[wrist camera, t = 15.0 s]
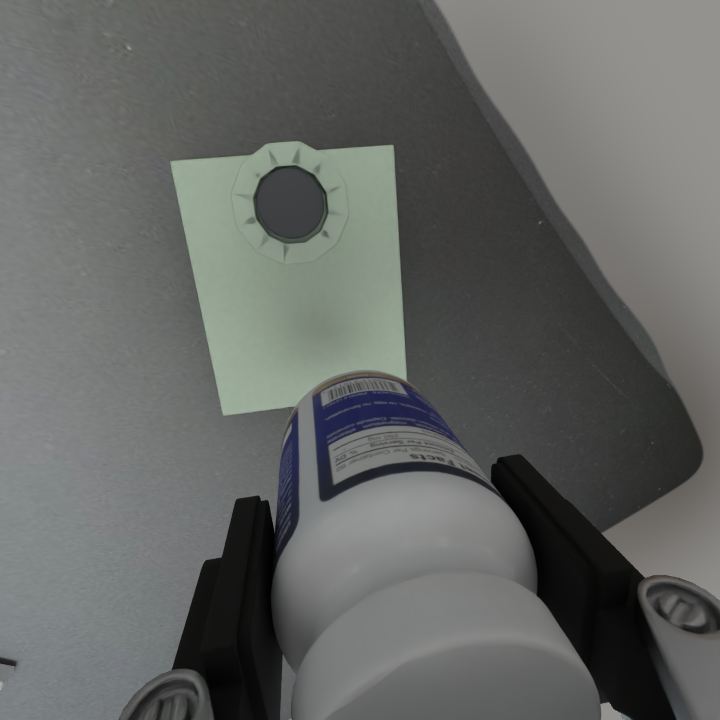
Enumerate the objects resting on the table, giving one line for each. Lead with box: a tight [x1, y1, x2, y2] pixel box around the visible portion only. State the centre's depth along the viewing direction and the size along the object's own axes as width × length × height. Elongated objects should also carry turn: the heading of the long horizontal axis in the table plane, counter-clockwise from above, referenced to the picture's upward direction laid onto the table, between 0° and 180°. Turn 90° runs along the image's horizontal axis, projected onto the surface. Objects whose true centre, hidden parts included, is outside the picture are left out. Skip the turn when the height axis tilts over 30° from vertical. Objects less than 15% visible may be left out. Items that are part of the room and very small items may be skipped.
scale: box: [170, 141, 407, 416], centre depth 27 cm, size 16×13×4 cm
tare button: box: [257, 168, 324, 239], centre depth 23 cm, size 4×4×2 cm
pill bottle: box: [270, 370, 601, 720], centre depth 11 cm, size 6×6×10 cm
